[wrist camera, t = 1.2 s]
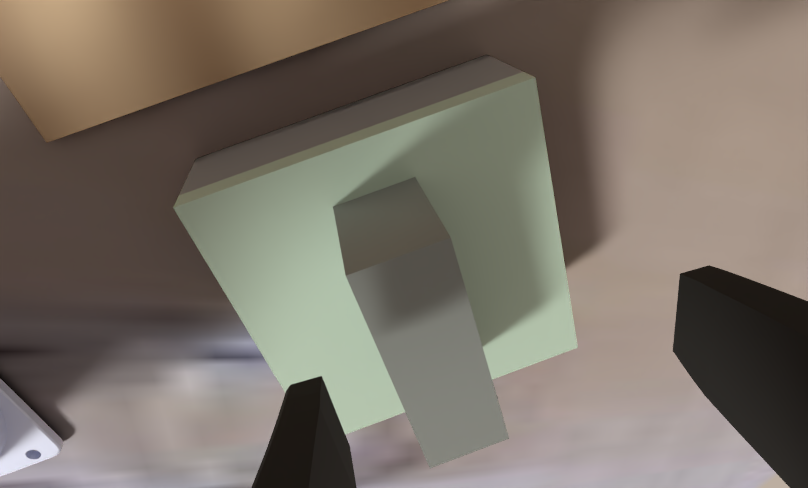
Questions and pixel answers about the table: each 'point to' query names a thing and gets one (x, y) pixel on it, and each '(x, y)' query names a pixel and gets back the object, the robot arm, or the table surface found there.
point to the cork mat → (157, 48)
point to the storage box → (345, 120)
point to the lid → (401, 263)
